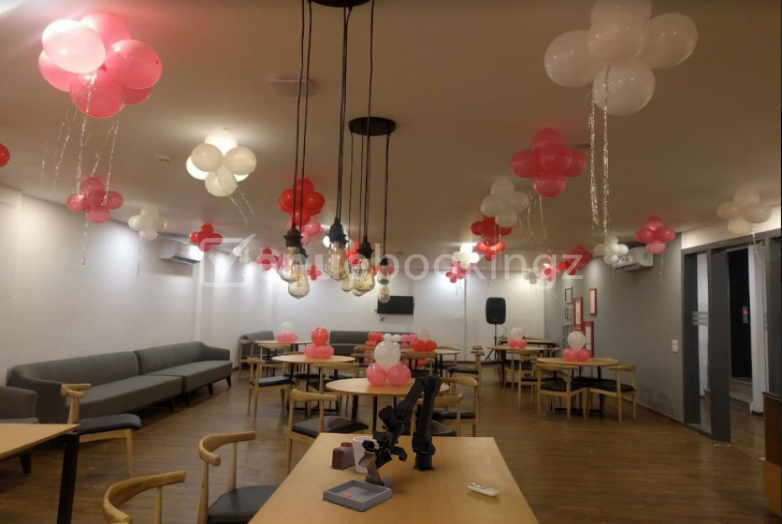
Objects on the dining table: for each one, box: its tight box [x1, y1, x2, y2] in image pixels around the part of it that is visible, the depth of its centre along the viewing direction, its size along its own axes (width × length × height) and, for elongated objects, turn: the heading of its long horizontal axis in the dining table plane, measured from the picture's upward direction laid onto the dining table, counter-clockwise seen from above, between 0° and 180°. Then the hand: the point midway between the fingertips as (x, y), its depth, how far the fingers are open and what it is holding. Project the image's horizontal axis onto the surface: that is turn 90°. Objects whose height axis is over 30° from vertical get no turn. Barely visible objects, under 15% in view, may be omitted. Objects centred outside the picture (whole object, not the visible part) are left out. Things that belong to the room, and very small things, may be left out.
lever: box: [358, 451, 382, 485], centre depth 198 cm, size 5×5×15 cm
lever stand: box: [365, 474, 392, 489], centre depth 201 cm, size 4×9×4 cm, turn 55°
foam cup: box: [352, 435, 376, 474], centre depth 223 cm, size 10×9×13 cm
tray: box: [322, 478, 393, 513], centre depth 191 cm, size 17×18×3 cm
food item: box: [331, 441, 355, 471], centre depth 230 cm, size 14×8×10 cm, turn 153°
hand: (374, 470), depth 200 cm, fingers closed, pressing on lever
